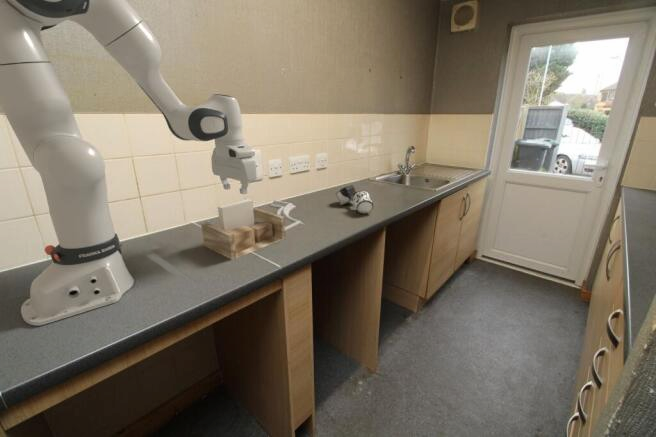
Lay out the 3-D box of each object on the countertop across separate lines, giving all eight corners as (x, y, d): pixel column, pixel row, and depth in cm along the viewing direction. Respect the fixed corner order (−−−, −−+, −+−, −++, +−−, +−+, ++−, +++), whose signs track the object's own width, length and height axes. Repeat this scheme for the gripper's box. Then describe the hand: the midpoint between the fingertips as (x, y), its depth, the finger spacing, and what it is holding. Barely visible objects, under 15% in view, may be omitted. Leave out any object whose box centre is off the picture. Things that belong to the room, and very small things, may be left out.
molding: (269, 205, 154) (268, 199, 153) (293, 203, 157) (293, 198, 156) (277, 237, 116) (276, 230, 115) (309, 234, 118) (308, 227, 117)
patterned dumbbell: (378, 214, 140) (379, 193, 136) (359, 217, 136) (360, 195, 132) (349, 200, 161) (350, 181, 158) (333, 202, 157) (333, 183, 153)
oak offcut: (234, 253, 98) (232, 236, 96) (225, 249, 101) (223, 232, 99) (255, 245, 103) (253, 228, 101) (246, 241, 106) (244, 225, 104)
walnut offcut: (258, 242, 105) (257, 229, 104) (251, 239, 108) (249, 226, 106) (272, 237, 110) (272, 224, 109) (265, 234, 113) (264, 221, 111)
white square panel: (226, 245, 104) (222, 208, 99) (222, 243, 105) (217, 206, 101) (255, 234, 112) (252, 200, 108) (251, 232, 114) (248, 199, 110)
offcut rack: (232, 264, 94) (229, 235, 91) (204, 249, 104) (201, 223, 101) (285, 241, 110) (284, 216, 107) (257, 231, 120) (255, 207, 117)
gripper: (204, 147, 103) (209, 188, 107) (240, 153, 90) (245, 198, 95) (221, 145, 107) (225, 184, 112) (258, 150, 95) (261, 194, 99)
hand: (235, 191), depth 103 cm, fingers open, 8 cm apart
